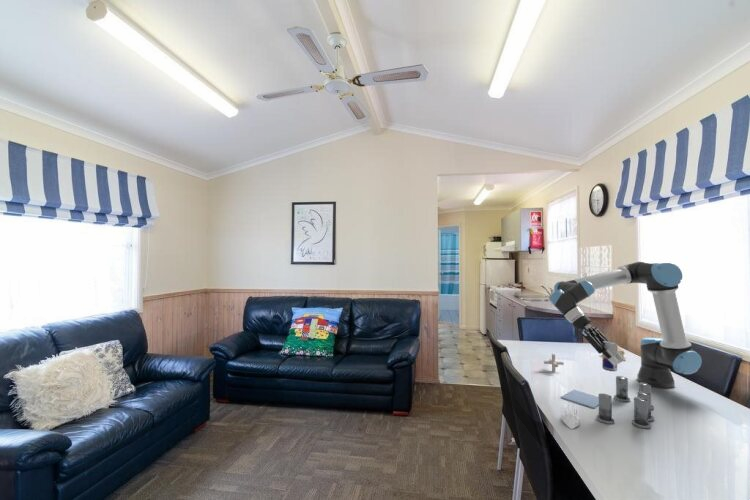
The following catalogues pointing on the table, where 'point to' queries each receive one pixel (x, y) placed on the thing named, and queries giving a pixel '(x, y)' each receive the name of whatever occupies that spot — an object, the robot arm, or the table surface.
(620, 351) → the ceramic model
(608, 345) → the energy drink
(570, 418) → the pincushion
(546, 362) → the pipe connector
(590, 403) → the mat
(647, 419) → the spacer posts
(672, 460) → the table surface
